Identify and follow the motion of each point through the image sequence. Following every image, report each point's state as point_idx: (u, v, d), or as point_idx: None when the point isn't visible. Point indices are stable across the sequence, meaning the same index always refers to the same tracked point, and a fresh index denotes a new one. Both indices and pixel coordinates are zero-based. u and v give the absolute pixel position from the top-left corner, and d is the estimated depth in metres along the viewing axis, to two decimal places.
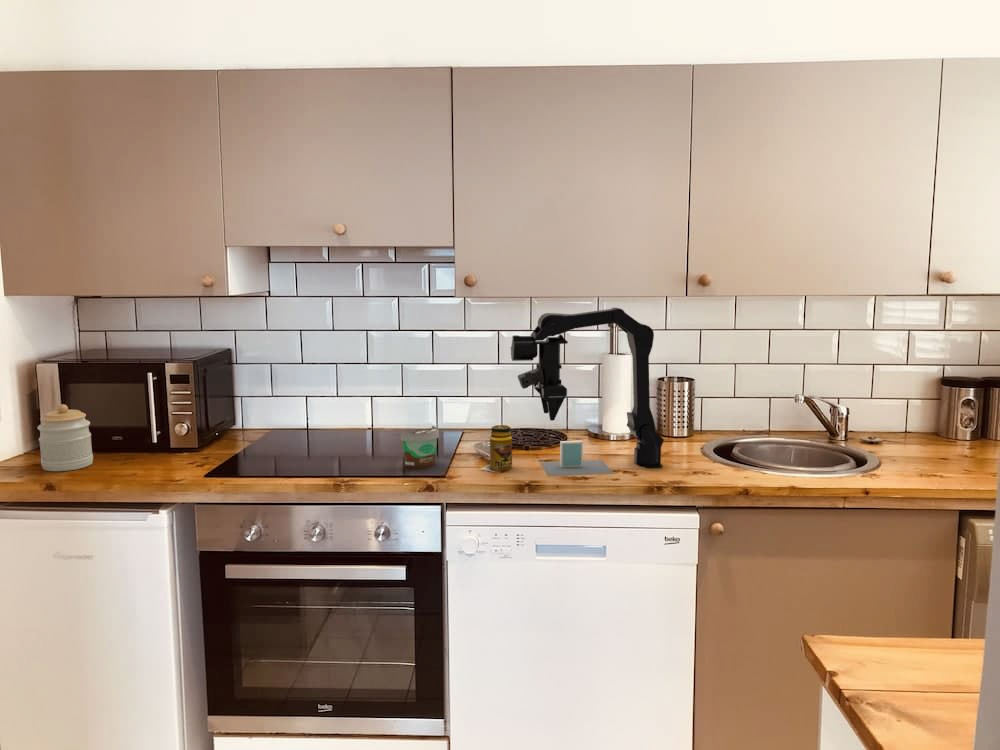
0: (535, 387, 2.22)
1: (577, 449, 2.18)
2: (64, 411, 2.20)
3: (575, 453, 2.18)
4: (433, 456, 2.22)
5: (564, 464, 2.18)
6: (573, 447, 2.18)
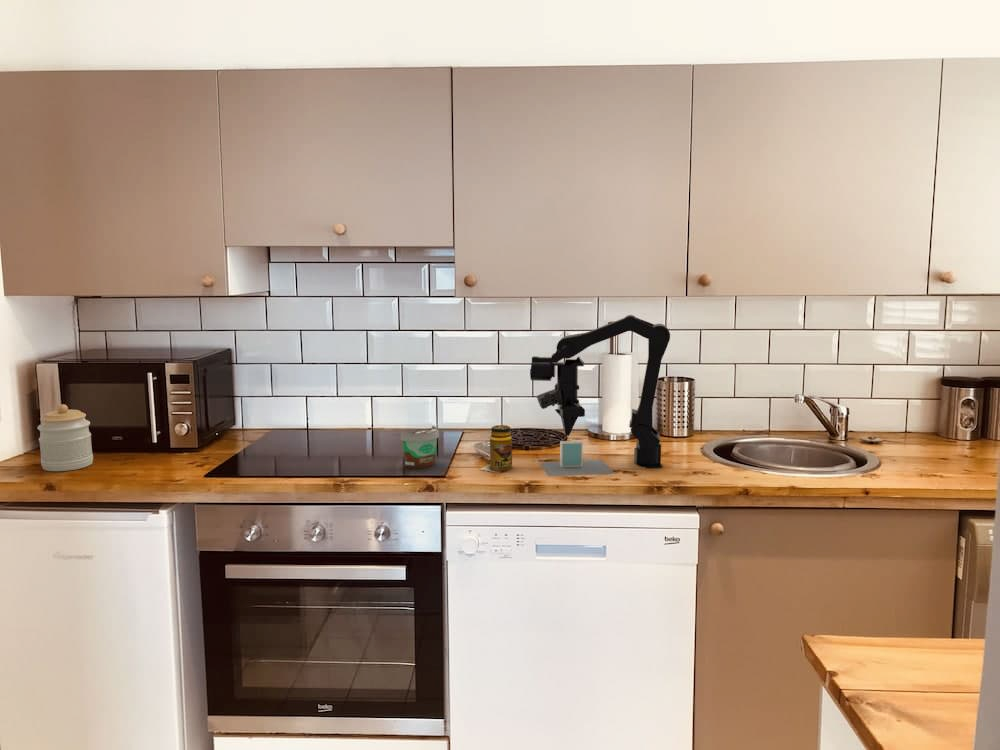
0: (556, 409, 2.26)
1: (577, 449, 2.18)
2: (64, 411, 2.20)
3: (575, 453, 2.18)
4: (433, 456, 2.22)
5: (564, 464, 2.18)
6: (573, 447, 2.18)
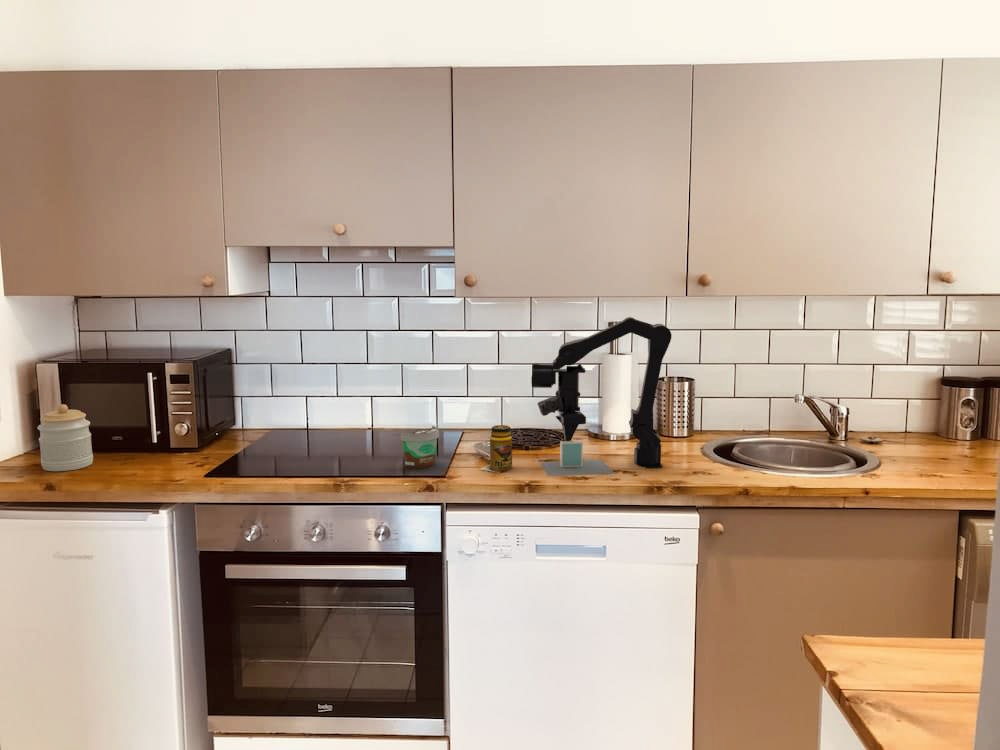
0: (557, 416, 2.24)
1: (577, 449, 2.18)
2: (64, 411, 2.20)
3: (575, 453, 2.18)
4: (433, 456, 2.22)
5: (564, 464, 2.18)
6: (573, 447, 2.18)
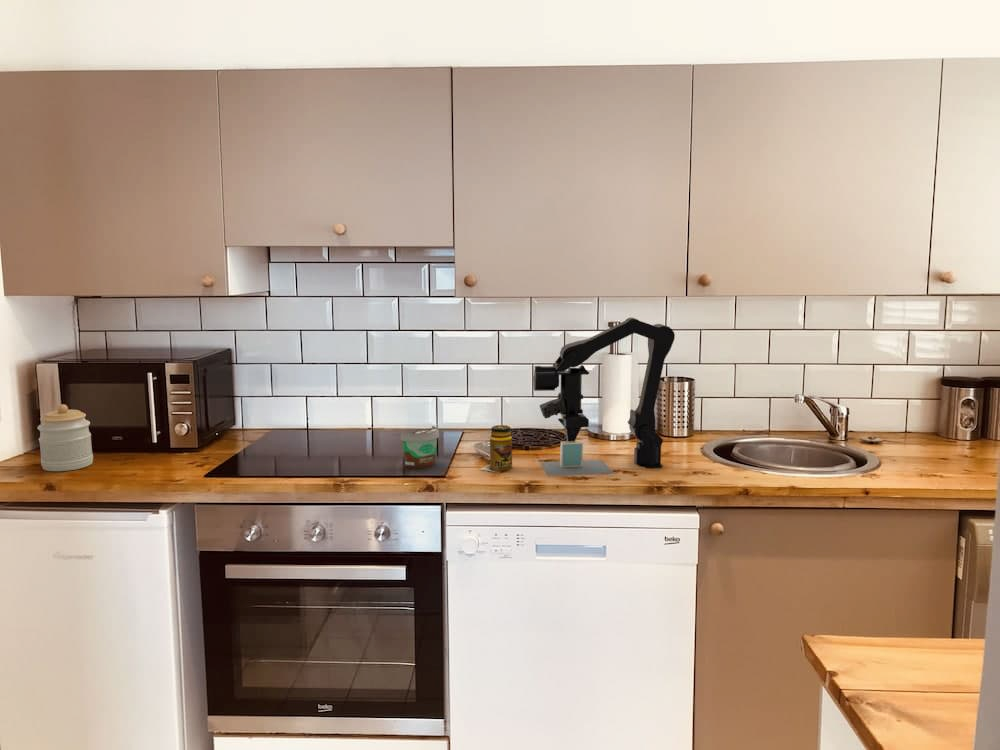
0: (559, 419, 2.21)
1: (577, 450, 2.18)
2: (64, 411, 2.20)
3: (575, 453, 2.18)
4: (433, 456, 2.22)
5: (564, 464, 2.18)
6: (573, 448, 2.17)
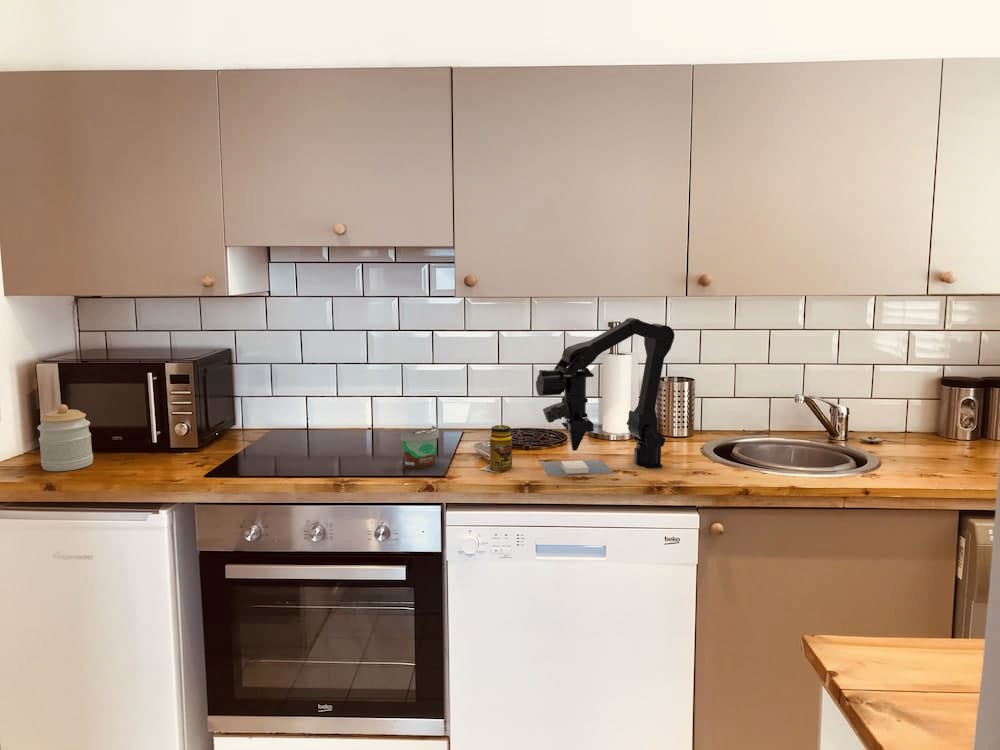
0: (563, 423, 2.16)
1: None
2: (64, 411, 2.20)
3: None
4: (433, 456, 2.22)
5: None
6: None
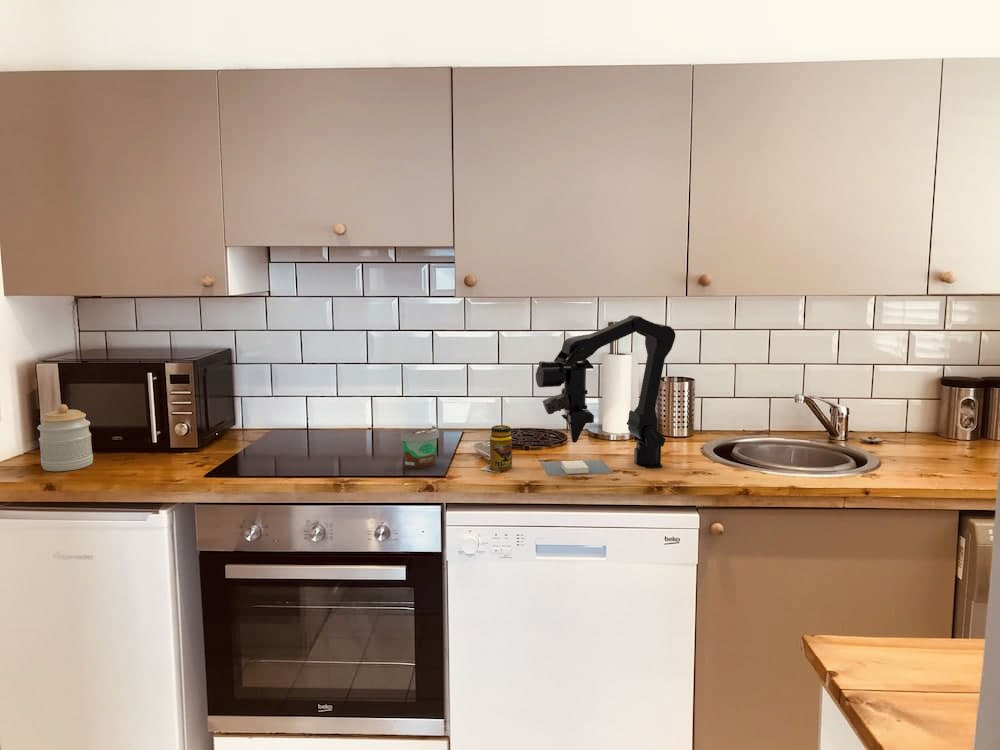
0: (563, 415, 2.15)
1: None
2: (64, 411, 2.20)
3: None
4: (433, 456, 2.22)
5: None
6: None
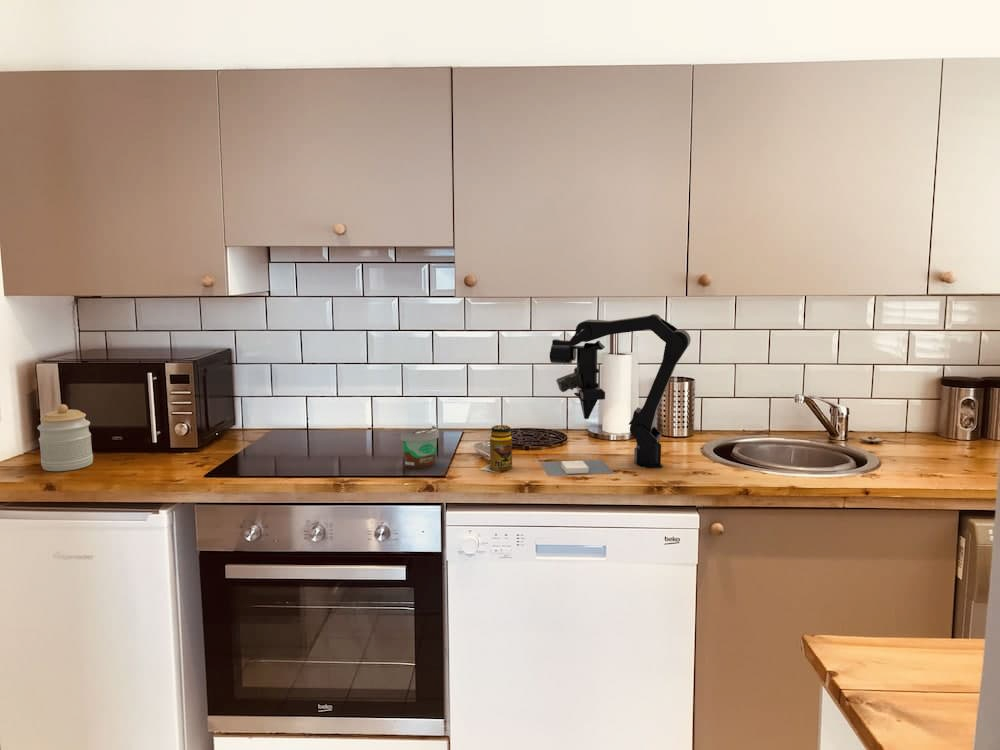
0: (575, 393, 2.27)
1: None
2: (64, 411, 2.20)
3: None
4: (433, 456, 2.22)
5: None
6: None
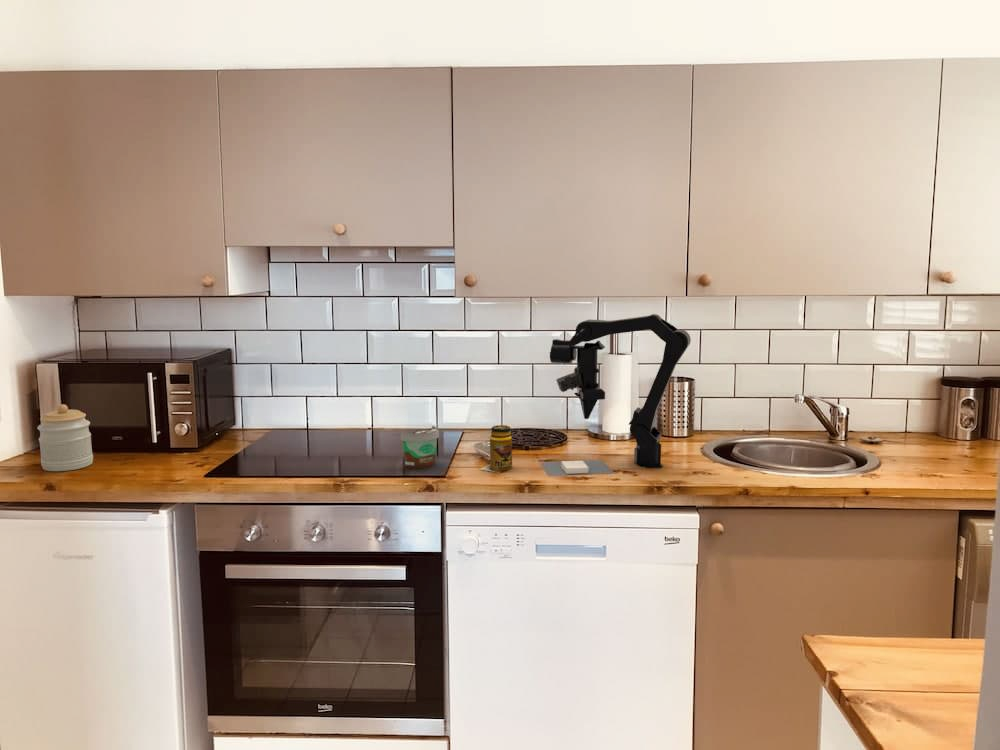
0: (575, 393, 2.27)
1: None
2: (64, 411, 2.20)
3: None
4: (433, 456, 2.22)
5: None
6: None
